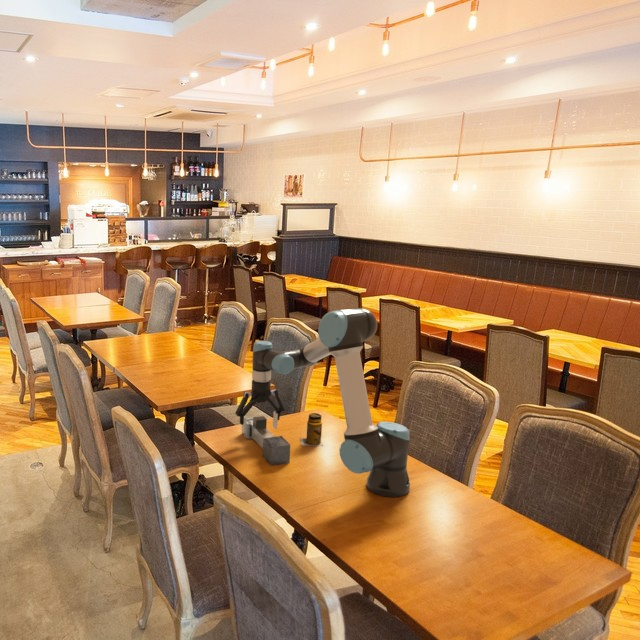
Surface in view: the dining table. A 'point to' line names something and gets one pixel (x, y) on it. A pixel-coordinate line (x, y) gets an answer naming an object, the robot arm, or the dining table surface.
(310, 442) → the yellow drink bottle
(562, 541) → the dining table surface
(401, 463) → the robot arm
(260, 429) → the light gray bar
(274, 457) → the sleeve
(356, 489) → the dining table surface
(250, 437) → the socket
